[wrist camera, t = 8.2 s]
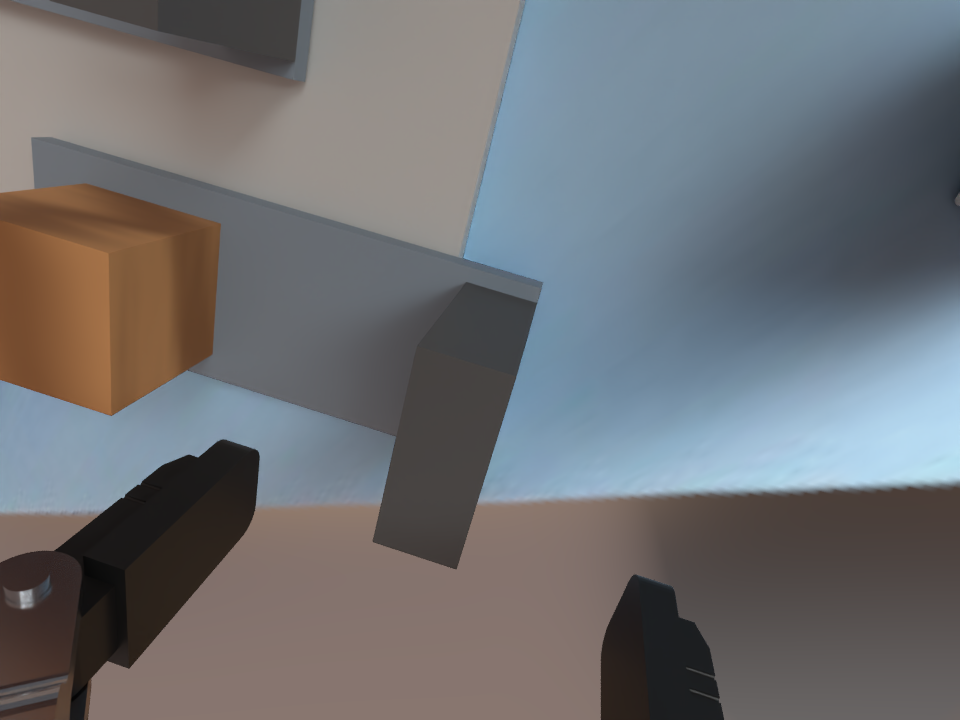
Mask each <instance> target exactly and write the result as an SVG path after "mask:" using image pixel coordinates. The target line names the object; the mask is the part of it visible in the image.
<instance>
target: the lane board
mask: <svg viewBox="0 0 960 720" xmlns="http://www.w3.org/2000/svg"><path fill="white" fill-rule="evenodd" d="M525 1H526V0H314V7H313V16H312V25H311V34H310V43H309V52H308V60H307V69H306V78H305V82H302V81H296V80H291V79H288V78H284V77H281V76H277V75H274V74H270V73H266V72H263V71H259V70H256V69H252V68H249V67H245V66H242V65H238V64H234V63H231V62H227V61H224V60H220V59H217V58H213V57H210V56H206V55H202V54H199V53H195V52H192V51H188V50H185V49H181V48H178V47H174V46H170V45H167V44H163V43H160V42H156V41H153V40H149V39H146V38H142V37H138V36H135V35H131V34H128V33H124V32H121V31H117V30H114V29H110V28H107V27H103V26H99V25H96V24H92V23H89V22H85V21H82V20H78V19H75V18H71V17H67V16H64V15H60V14H57V13H53V12H50V11H46V10H43V9H39V8H35V7H32V6H28V5H25V4H21V3H18V2H14V1H11V0H0V193H3V192H12V191H21V190H30V189H35V188H34V173H33V158H32V144H31V137H53V138H56V139H60V140H63V141H66V142H70V143H73V144H77V145H80V146H83V147H87V148H90V149H93V150H97V151H100V152H104V153H107V154H110V155H114V156H117V157H121V158H124V159H127V160H131V161H134V162H137V163H141V164H144V165H148V166H151V167H154V168H158V169H161V170H165V171H168V172H171V173H175V174H178V175H181V176H185V177H188V178H192V179H195V180H198V181H202V182H205V183H209V184H212V185H215V186H219V187H222V188H225V189H229V190H232V191H236V192H239V193H242V194H246V195H249V196H253V197H256V198H259V199H263V200H266V201H269V202H273V203H276V204H280V205H283V206H286V207H290V208H293V209H297V210H300V211H303V212H307V213H310V214H313V215H317V216H320V217H324V218H327V219H330V220H334V221H337V222H341V223H344V224H347V225H351V226H354V227H357V228H361V229H364V230H368V231H371V232H374V233H378V234H381V235H384V236H388V237H391V238H395V239H398V240H401V241H405V242H408V243H412V244H415V245H418V246H422V247H425V248H428V249H432V250H435V251H439V252H442V253H445V254H449V255H452V256H456V257H459V258H462V259H463V255H464V251H465V247H466V243H467V239H468V234H469V230H470V226H471V222H472V218H473V214H474V210H475V206H476V202H477V198H478V193H479V189H480V185H481V181H482V177H483V173H484V169H485V165H486V161H487V157H488V153H489V148H490V144H491V140H492V136H493V132H494V128H495V124H496V120H497V116H498V112H499V107H500V103H501V99H502V95H503V91H504V87H505V83H506V79H507V75H508V71H509V66H510V62H511V58H512V54H513V50H514V46H515V42H516V38H517V34H518V30H519V26H520V21H521V17H522V13H523V9H524V5H525Z"/></svg>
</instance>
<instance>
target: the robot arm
mask: <svg viewBox="0 0 960 720" xmlns="http://www.w3.org/2000/svg"><path fill="white" fill-rule="evenodd" d="M259 460H260V456H259V452H258V451H257V450H255V449H252V448H249V447H246V446H243V445H240V444H237V443H234V442H231V441H228V440H224V439H223V440H220V441H218V442H216V443H215V444H214V445H213V446H212V447H210V448H209V449H208V450H207V451H206V452H205V453H203V454H202V455H201V456H200V457H199V458H198V457H195V456H192V455H186V456H184V457H182V458H179V459H177V460H174V461H172V462H169V463H167V464H164V465H162V466H161V467H160V468H158V469H157V470H156V471H154V472H153V473H152V474H151V475H149V476H148V477H147V478H146V479H144V480H143V481H142V483H141V485H137V486H136V487H134V488H133V489H132V490H131V491H129V492H128V493H127V494H126V495H125V497H124V498H120V499H119V500H118V501H117V502H115V503H114V504H113V505H112V506H110V507H109V508H108V509H107V510H105V511H104V512H103V513H102V514H100V515H99V516H98V517H97V518H95V519H94V520H93V521H92V522H90V523H89V524H88V525H86V526H85V527H84V528H83V529H81V530H80V531H79V532H78V533H76V534H75V535H74V536H73V537H71V538H70V539H69V540H68V541H66V542H65V543H64V544H63V545H61V546H60V547H59V548H58V549H56V550H55V551H36V552H30V553H25V554H22V555H18V556H15V557H12V558H10V559H7V560H5V561H3V562H1V563H0V720H88V714H89V704H90V694H91V678H92V677H93V676H94V675H95V673H96V672H97V671H98V670H99V669H100V668H101V667H102V666H103V664H105V663H106V661H109V662H112V663H115V664H118V665H121V666H123V667H126V668H130V667H131V666H132V665H133V664H134V662H135V661H136V660H137V659H138V658H139V657H140V655H141V654H142V653H143V652H144V650H146V648H147V647H148V646H149V645H150V644H151V643H152V641H153V640H154V639H155V638H156V637H157V635H158V634H159V633H160V632H161V631H162V630H163V628H164V627H165V626H166V625H167V624H168V622H169V621H170V620H171V619H172V618H173V617H174V616H175V614H176V613H177V612H178V611H179V610H180V609H181V607H182V606H183V605H184V604H185V603H186V601H187V600H188V599H189V598H190V597H191V596H192V594H193V593H194V592H195V591H196V590H197V589H198V588H199V586H200V585H201V584H202V583H203V582H204V581H205V579H206V578H207V577H208V576H209V575H210V574H211V572H212V571H213V570H214V569H215V568H216V566H217V565H218V564H219V563H220V562H221V561H222V559H223V558H224V557H225V556H226V555H227V554H228V552H229V551H230V550H231V549H232V548H233V547H234V545H235V544H236V543H237V542H238V541H239V540H240V538H241V537H242V536H243V535H244V533H245V532H246V530H247V528H248V527H249V525H250V522H251V520H252V518H253V515H254V511H255V506H256V495H257V484H258V472H259ZM714 677H715V673H714V668H713V663H712V659H711V653H710V649H709V647H708V645H707V644H706V642H705V640H704V638H703V637H702V635H701V633H700V631H699V630H698V628H697V627H696V625H695V623H694V622H691V621H688V620H685V619H682V618H679V616H678V610H677V603H676V597H675V592H674V589H673V587H672V586H669V585H666V584H663V583H660V582H657V581H654V580H651V579H648V578H645V577H642V576H638V575H633V576H632V577H631V579H630V580H629V582H628V584H627V586H626V589H625V591H624V593H623V596H622V597H621V599H620V601H619V603H618V606H617V608H616V610H615V612H614V614H613V616H612V618H611V620H610V622H609V625H608V627H607V630H606V633H605V637H604V640H603V645H602V652H601V720H724V717H723V712H722V707H721V703H719V698H720V697H719V693H718V687H717V682H716V680H714Z"/></svg>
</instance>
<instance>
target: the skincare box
mask: <svg viewBox="0 0 960 720" xmlns="http://www.w3.org/2000/svg"><path fill="white" fill-rule="evenodd" d="M955 204H956V205H958V206H960V192H959V194H958V195H957V197H956V198H955Z"/></svg>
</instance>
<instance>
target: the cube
mask: <svg viewBox="0 0 960 720" xmlns="http://www.w3.org/2000/svg"><path fill="white" fill-rule="evenodd" d="M220 230H221V224H220V223H217V222H214V221H210V220H207V219H204V218H200V217H197V216H194V215H190V214H187V213H184V212H180V211H177V210H174V209H170V208H167V207H164V206H160V205H157V204H154V203H150V202H147V201H144V200H140V199H137V198H134V197H130V196H127V195H124V194H120V193H117V192H114V191H110V190H107V189H104V188H100V187H97V186H94V185H90V184H87V183H83V184H75V185H66V186H57V187H48V188H39V189H30V190H21V191H12V192H3V193H0V380H2V381H6V382H9V383H12V384H15V385H18V386H21V387H24V388H27V389H30V390H33V391H36V392H39V393H43V394H46V395H49V396H52V397H55V398H58V399H61V400H64V401H67V402H70V403H73V404H76V405H79V406H83V407H86V408H89V409H92V410H95V411H98V412H101V413H104V414H107V415H110V416H112V415H114V414H115V413H117V412H119V411H120V410H122V409H123V408H125V407H127V406H128V405H130V404H132V403H133V402H135V401H137V400H138V399H140V398H142V397H143V396H145V395H147V394H148V393H150V392H151V391H153V390H155V389H156V388H158V387H160V386H161V385H163V384H165V383H166V382H168V381H170V380H171V379H173V378H175V377H176V376H178V375H179V374H181V373H183V372H184V371H186V370H188V369H189V368H191V367H193V366H194V365H196V364H198V363H199V362H201V361H203V360H204V359H206V358H207V357H209V356H211V355H212V354H213V339H214V324H215V308H216V293H217V277H218V262H219V246H220Z"/></svg>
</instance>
